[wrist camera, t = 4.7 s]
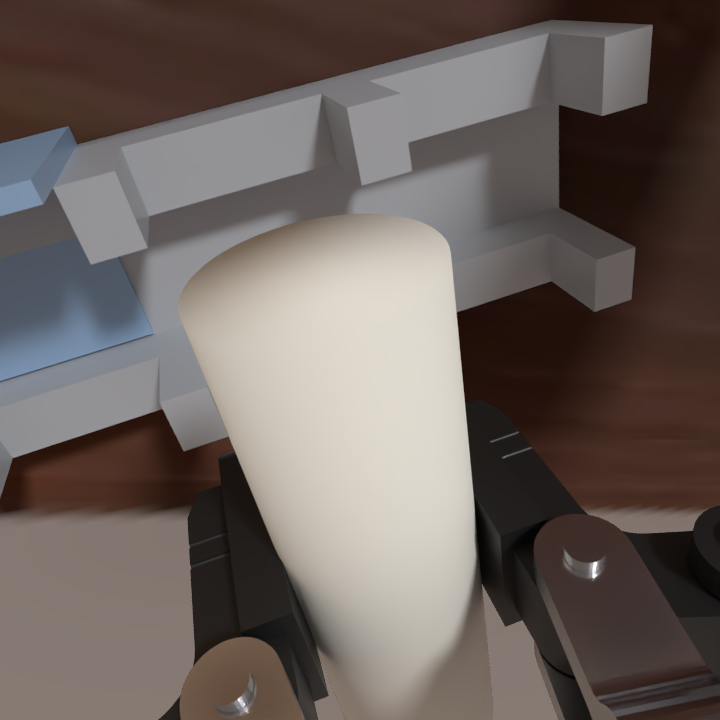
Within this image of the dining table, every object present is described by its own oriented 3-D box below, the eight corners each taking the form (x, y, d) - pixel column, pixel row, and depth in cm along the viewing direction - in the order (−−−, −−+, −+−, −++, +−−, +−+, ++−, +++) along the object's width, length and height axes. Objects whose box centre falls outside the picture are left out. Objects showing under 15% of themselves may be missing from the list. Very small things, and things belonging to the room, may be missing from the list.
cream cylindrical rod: (175, 255, 7) (182, 386, 5) (396, 194, 8) (502, 288, 5) (332, 660, 13) (371, 812, 11) (456, 612, 14) (520, 749, 11)
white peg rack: (-192, 193, 18) (-352, 282, 12) (551, 1, 22) (693, 1, 16) (-15, 431, 24) (-70, 568, 18) (553, 249, 27) (658, 316, 21)
